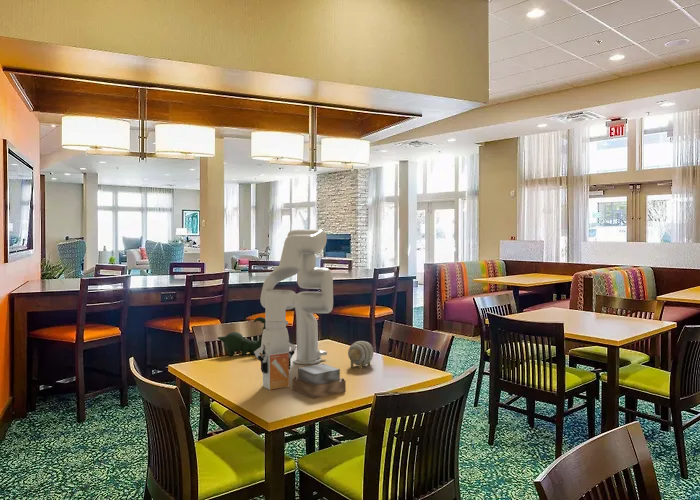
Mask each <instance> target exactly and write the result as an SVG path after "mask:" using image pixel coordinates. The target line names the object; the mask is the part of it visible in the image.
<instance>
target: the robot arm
mask: <svg viewBox="0 0 700 500" xmlns="http://www.w3.org/2000/svg"><path fill="white" fill-rule="evenodd" d="M327 241H328V239H327V233H326V231H324V230H323V229H293V230H291V231H289V232H288V233H287V237H286V238H285V240H284V242H283V246H282V250H281V256H280V260H279V264H278V266H277V267H276V268H274V269H273V270H272V271H271V272H270V273H269V274H268V275H267V277H266V278H265V279H264V282H263V284H262V288H261V293H260V304H261V305H260V306H262V307H263V308H265V313H264V314H265V315H264V316H265V317H264V318H265V320H266V329H264V330H263V329H262V332H263V334H262V333H261V334H262V342H261V347H260V348H258V349H257V350H256V351H254V353H255V355H254V356H255V358H256V359H257V360H258V361H259V362H260V370H261V371H260V372H261V373H262V374H263V373H265V374H266V373H267V363H266V361H267V359H268V357H269V355H271V354H278V353H285V352H289V370H291V364H292V363H291V360H292V358H293V356H294V354H295V351H296V357H294V358H293V360H292V361H293V363H294V364H297V365H317V364H320V363H321V362H322V356H327V355H328V352H327V350H319V338H318V337H319V336H318V334H319V331H318V330H319V329H318V328H319V327H318V325H319V324H318V323H319V322H318V320H317V318H316V317H315V314H329V313H331V312H332V311H333V307H334V280H333V279H334V278H333V273H332V271H331V270H330V269H329V268H327V267H317V258H316V255H318V254H319V253H320V252H321V251H323V249H324V248H325V247H326V246H327V245H326V244H327ZM295 275H296V276H297V277H296V278H297V280H296V281H297V286H298V287H299V288H301V289H306V290H307V289H308V290H309V289H311V290H312V289H314V290H320V291H301V292H298V293H296V292H295V291H293V290H290V289H274V288H275V287H276V285H277V284H279V283H280V282H282V281H284V280H286V279H288V278H291V277H293V276H295ZM292 309H294V310H295V315H296V345H295V344H293V343H291V342H290V336H289V332H288V328H287V325H289V321H288V320H286V314H287V312H286V310H292ZM260 353H261V354H260ZM265 353H266V354H265ZM261 355H262V356H261Z"/></svg>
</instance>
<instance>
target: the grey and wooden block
mask: <svg viewBox="0 0 700 500" xmlns="http://www.w3.org/2000/svg"><path fill="white" fill-rule="evenodd" d="M340 377H341V369H340V368H337V367H335V366H331V365H328V364H325V363H316V364H311V365H308V366H307V365H306V366H303V367H298V368H297V376H293V378H292V390H294V391H295V392H298V393H300V394H303V395H304V396H306V397H308V398H310V399H312V400H313V399H318V398H323V397H328V396H331V395H335V394H340V393H344V392H346V391H347V390H346V389H347V388H346V386H347V385H346V384H347V383H346V379H345V378H344V377H343V378H340Z"/></svg>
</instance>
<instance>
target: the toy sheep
mask: <svg viewBox="0 0 700 500" xmlns="http://www.w3.org/2000/svg"><path fill="white" fill-rule="evenodd" d="M347 356H348V359H349V360H350V369H353V368H354V365H356V366H358V369H359V370H362V369H363V367H364V366H366V365H367V366H370V365H371V362H372V360H373V358H374V347H373V346H372V344H371V343H370V342H368V341H365V340H358V341H355V342H354V343H352V344H351V345H350V346H349V348H348V350H347Z"/></svg>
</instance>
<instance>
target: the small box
mask: <svg viewBox="0 0 700 500" xmlns="http://www.w3.org/2000/svg"><path fill="white" fill-rule="evenodd" d="M289 352H290V351H289ZM289 352H285V353H278V354H271V355H269V357H268V359H267V361H266V363H267V373H266V374H265V373H263V372H262V387H264V388H265V389H268V390H270V391H271V390H277V389H280V388H281V389H282V388H283V389H284V388H288V387H289V386H290V374H289V373H290V369H289ZM265 354H266V353H265Z"/></svg>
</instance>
